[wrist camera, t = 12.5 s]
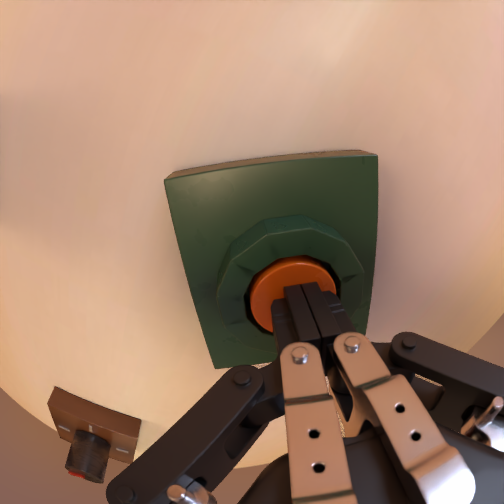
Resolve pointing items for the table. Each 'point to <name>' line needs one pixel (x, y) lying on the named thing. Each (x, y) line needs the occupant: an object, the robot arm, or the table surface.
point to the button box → (272, 237)
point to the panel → (94, 423)
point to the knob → (88, 457)
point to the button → (284, 283)
